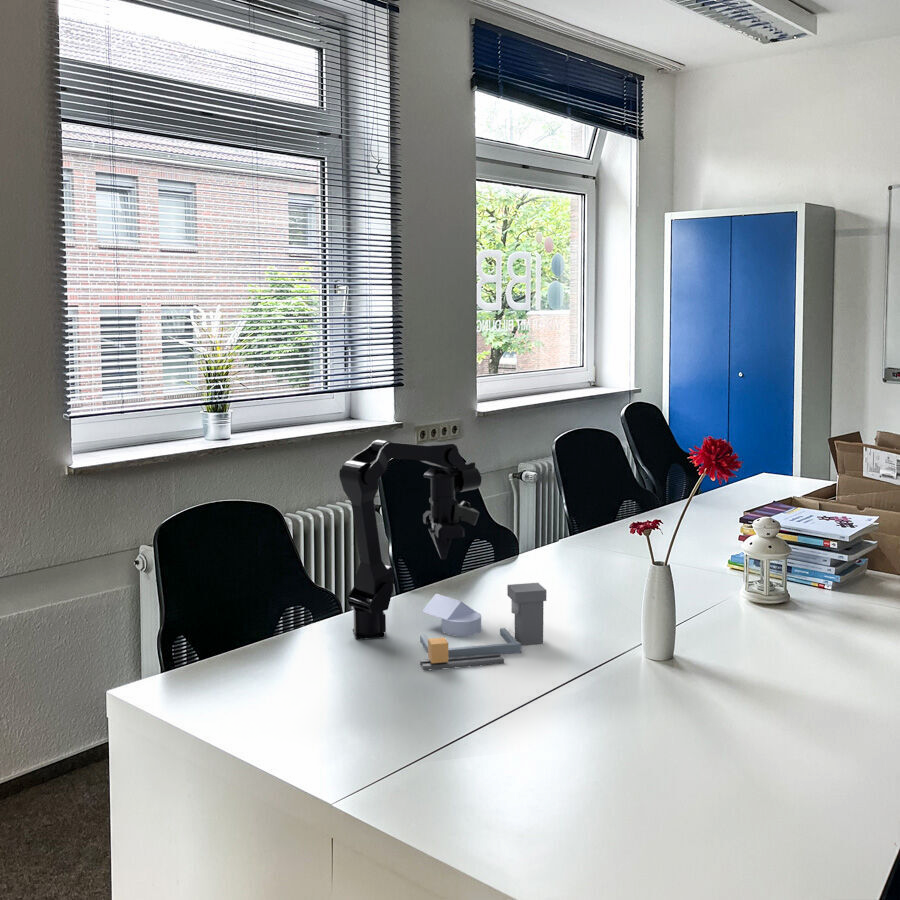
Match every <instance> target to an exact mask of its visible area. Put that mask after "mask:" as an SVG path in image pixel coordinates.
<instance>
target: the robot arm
mask: <svg viewBox="0 0 900 900" xmlns="http://www.w3.org/2000/svg"><path fill="white" fill-rule="evenodd" d="M392 459H396V460H409V461H419V462H421V463H424V464H427V465H430V467H429V469H428V470H427V471H426V472H424V474H423V478H427V479H430V497H429V498H428V502H429V504H430V510H426V511H425V512H424V513H423V514H422V521H423V524H424V525H429V523H430V524H431V527H428V528H427V529H428V532H429V534H430V537H431V538H432V541H433V544H434V546H435V548H436V551H437V553H438V555H439V557H440V560H445V561H446V560H447V556H448V554H449V549H450V545H451V542H452V539H461V538H465V537H466V535H465V528H464V527H463V526H462V525H461V524H460V521H463V522H466V523H468V524H470V525H473V526H476V524H477V522H478V518H479V515H480V512H479V511H478V510H477V509H475V508H473V507H471V503H470V502H468V501H465V500H462V501H461V502H460V503H459V501H458V500H457V499H456V493H462V492H468V491H473V490H476V489H478V488H479V487H480V486H481V485H482V476H481V473H480V471H479V469H478V468H477V467H476V462H473V461H466V462H465V460H464V458H463V457H462V455H461V454H460V452H459V448H458V446H457V445H456V444H454V443H449V442H442V441H427V442H424V443H420V444H417V443H416V444H415V443H407V442H406V443H405V442H398V441H397V442H395V441H390V440H384V439H375V440H373V441H372V442H371V443H370V444H369V445H368V446H367V447H366V448H364V449H362V450H361V451H358V452H357V453H356V454H354V455H353V456H352V457H351V458H350V459H349V460H347V461H346V462H344V463H343V465H342V467H341V468H340V469H339V473H338V474H339V480H340V483H341V487H342V489H343V492H344V493H345V495H346V496H347V498H348V499H349V501H350V503H351V508H352V515H353V522H354V523H353V524H354V528H355V529H354V530H355V535H356V542H357V543H356V545H357V550H358V557H359V558H358V559H359V565H358V568H357V570H356V572H355V584H354V586H353V587H352V589H351V590H350V592H349V593H348V595H347V596H346V598H345V600H346V603H347V605H348V606H349V607H352V608H353V628H352V632H354V633H353V635H354V637H356V638H355V639H356V640H366V639H365V638H369V639H378V638H385V637H386V634H385V633H386V631H387V627H386V626H387V625H386V623H387V622H386V620H387V617H386V613H385V612H384V611H388V609H389V607H390V602H391V599H392V595H393V593H394V589H395V588H394V585H396V581H395V577H394V568H393V566H392V565H387V564H385V563H384V562H383V557H382V552H381V543H380V535H379V529H378V521H377V515H376V507H375V498H376V495H377V493H378V490H379V479H380V478H381V477H382V475H384V473H386V470H387V468H388V465H389V462H390V461H391V460H392ZM432 466H435V467H432ZM436 467H439V468H440V469H438V468H436Z"/></svg>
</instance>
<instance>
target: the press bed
mask: <svg viewBox="0 0 900 900" xmlns="http://www.w3.org/2000/svg"><path fill="white" fill-rule="evenodd" d="M506 588H507V593H506V595H507V597H508V598H510V599H511V614H513V615H514V636H513V635H512V634H511V633H510V632H509V631H508V629H507V628H506V627H503V628H499V635H500V637H501V638H502V639H503V641H504V643H495V644H493V643H492V644H483V645H469V646H459V647H458V646H457V647H448V657H459V656H470V655H482V654H493V653H500V654H501V656H502V655H514V654H515V655H516V654H521V653H522V647H523V646H533V645H535V646H536V645H544V602H547V588H545V587H544V586H543V585H542V584H540V583H539V582H530V583H529V582H527V583H514V584H507V585H506ZM428 639H429V638H428V637H427V635H426V634H420V636H419V642H420V644H421V643H422V644H421V646H422V645H423V646H422V647H423V649H424V648H425V649H424V651H425V650H426V651H425V652H426V654H427V653H428Z"/></svg>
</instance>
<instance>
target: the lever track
mask: <svg viewBox="0 0 900 900" xmlns="http://www.w3.org/2000/svg"><path fill="white" fill-rule="evenodd" d="M503 664H505V658H504V657H503V656H502V655H501V654H500V653H493V654H482V655H470V656H459V657H448V662H442V663H431V662H430V660H429V658H427V659H425V658H424V659H419V666H420V665H421V666H422V667H421V666H420V667H421V670H422V669H423V670H427V671H430V670H429V669H438V670H444V669H443V668H449V669H456V668H455V667H460V668H469V667H468V666H471V667H479V666H480V665H482V666H493V665H503ZM423 670H422V671H423Z"/></svg>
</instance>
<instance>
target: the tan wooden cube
mask: <svg viewBox="0 0 900 900" xmlns="http://www.w3.org/2000/svg"><path fill="white" fill-rule="evenodd" d="M448 648H449V641H448V640H447V639H446V638H445V637H435V638H433V637H432V638H428V654H427V659H429V660H430V662H431V663H442V662H448Z"/></svg>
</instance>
